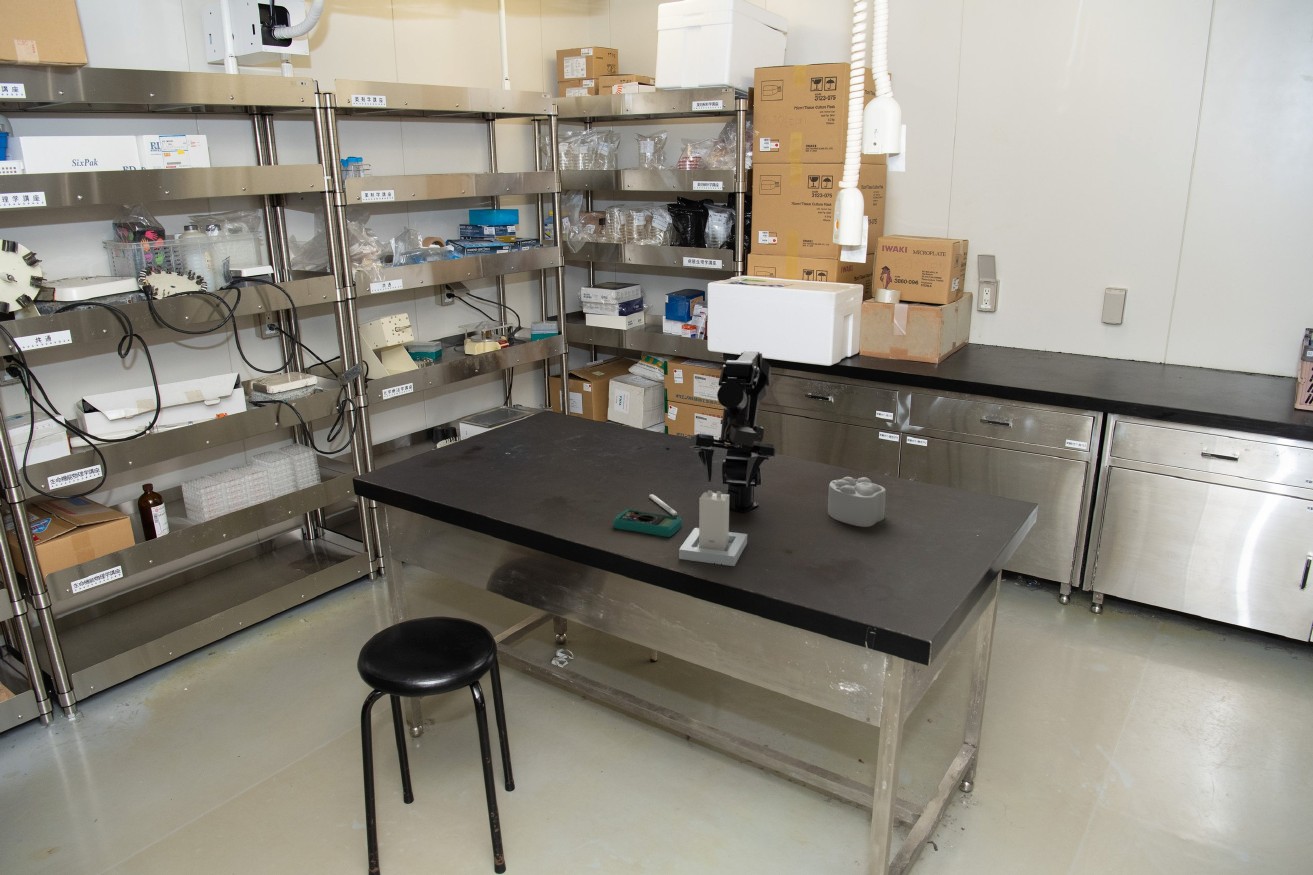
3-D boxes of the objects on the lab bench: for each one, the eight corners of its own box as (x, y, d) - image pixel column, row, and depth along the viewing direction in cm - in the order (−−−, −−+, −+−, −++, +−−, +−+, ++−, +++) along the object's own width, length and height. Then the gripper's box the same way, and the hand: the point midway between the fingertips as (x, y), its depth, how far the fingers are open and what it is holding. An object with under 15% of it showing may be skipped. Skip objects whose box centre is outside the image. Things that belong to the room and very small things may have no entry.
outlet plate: (694, 536, 195) (694, 527, 194) (747, 543, 191) (747, 534, 190) (679, 558, 184) (679, 549, 183) (734, 566, 180) (734, 556, 179)
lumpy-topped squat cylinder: (865, 529, 198) (868, 493, 195) (817, 514, 207) (819, 480, 204) (888, 516, 205) (891, 482, 203) (841, 502, 214) (843, 469, 211)
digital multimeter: (625, 518, 206) (624, 506, 206) (682, 527, 201) (682, 516, 200) (611, 529, 200) (611, 517, 199) (670, 539, 194) (670, 527, 193)
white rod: (649, 498, 218) (648, 493, 218) (653, 497, 218) (653, 493, 218) (672, 516, 206) (672, 512, 206) (677, 515, 207) (677, 511, 206)
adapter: (704, 540, 190) (704, 486, 186) (728, 543, 188) (729, 489, 184) (699, 548, 186) (699, 493, 182) (724, 551, 184) (724, 495, 181)
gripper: (707, 405, 184) (700, 478, 183) (788, 418, 189) (781, 489, 187) (692, 411, 195) (684, 479, 193) (768, 422, 200) (761, 489, 198)
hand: (728, 484), depth 193 cm, fingers open, 9 cm apart
